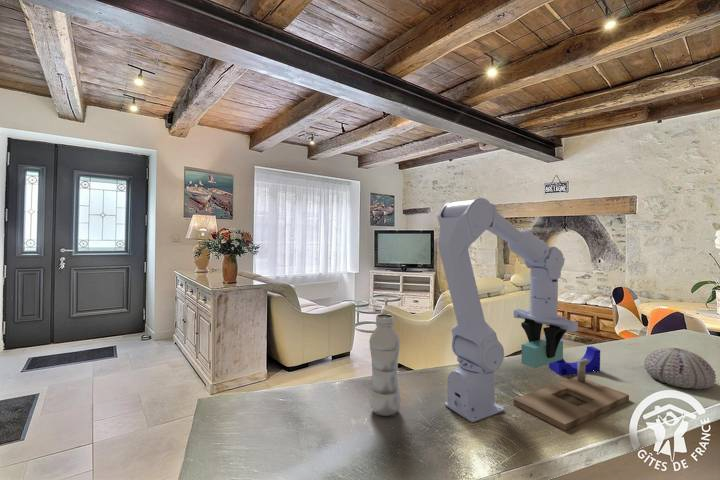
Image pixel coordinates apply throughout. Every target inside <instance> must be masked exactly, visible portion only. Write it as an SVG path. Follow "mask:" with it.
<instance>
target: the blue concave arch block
mask: <svg viewBox="0 0 720 480" xmlns="http://www.w3.org/2000/svg"><path fill="white" fill-rule="evenodd" d="M580 359H581V360H584V359H588V360H589V364H586V365H585V373H600V372H601V349H598V348H596V347H595V346H586V351H585V353H584V355H583V356H582V358H580ZM548 369H550V370H551V371H552V372H554V373H555V372H556V373H555V374H556V375H558V376H574V375H573V374H577V371H578V360H577V361H574V362H566V360H565V359H564V358H563V359H562V360H559V361H555V362H552V363H549V364H548ZM593 370H594V371H595V372H594V371H593Z"/></svg>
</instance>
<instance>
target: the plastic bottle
mask: <svg viewBox="0 0 720 480" xmlns="http://www.w3.org/2000/svg"><path fill="white" fill-rule="evenodd" d="M394 325H395V322H394V315H393V314H389V313H380V314H376V315H375V326H376V328H375V329H374V331H372V334H371V335H370V336H369V349H370V357H371V372H372V373H371V385H370V390H369V405H370V408H371V410H372V412H373V413H375V414H376V415H378V416H382V417H389V416H393V415H395V414H396V413H398V411H399V409H400V407H401V394H400V389H399V379H398V368H399V367H398V366H399V363H398V362H399V355H400V348H401V347H400V345H401V341H400V337H399V335H398V333H397V331H396V330H395V329H394V327H393V326H394Z"/></svg>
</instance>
